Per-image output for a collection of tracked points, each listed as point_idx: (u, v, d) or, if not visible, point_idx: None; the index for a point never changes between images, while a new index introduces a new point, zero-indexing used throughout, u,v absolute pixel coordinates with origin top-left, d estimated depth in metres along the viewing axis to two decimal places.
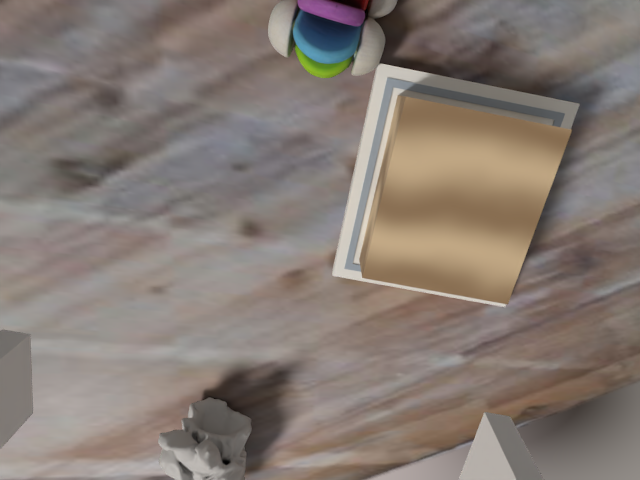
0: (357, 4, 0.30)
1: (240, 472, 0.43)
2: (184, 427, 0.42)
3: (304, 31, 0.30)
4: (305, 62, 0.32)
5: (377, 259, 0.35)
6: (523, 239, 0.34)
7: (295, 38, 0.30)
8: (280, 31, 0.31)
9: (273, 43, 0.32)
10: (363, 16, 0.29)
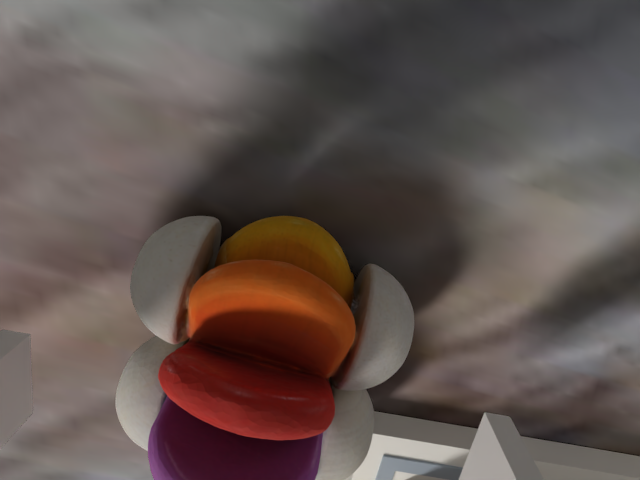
0: None
1: None
2: None
3: None
4: None
5: None
6: None
7: None
8: (134, 436, 0.14)
9: None
10: (314, 476, 0.11)
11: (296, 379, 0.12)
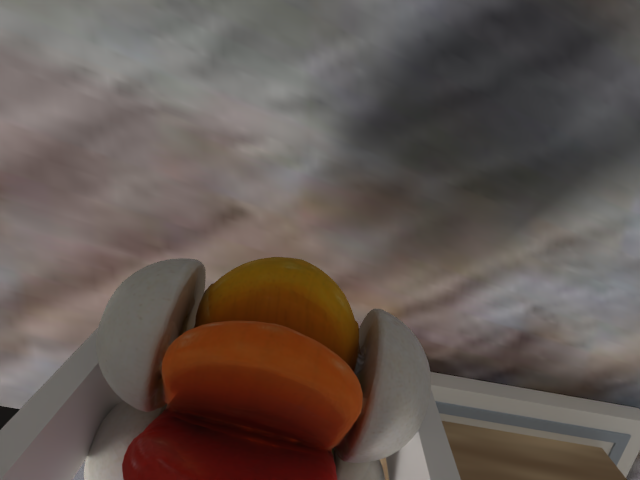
0: None
1: None
2: None
3: None
4: None
5: None
6: None
7: None
8: None
9: None
10: None
11: (292, 460, 0.10)
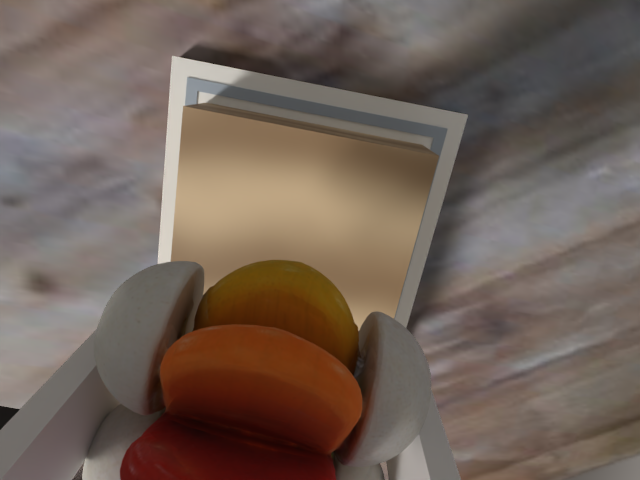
0: None
1: None
2: None
3: None
4: None
5: None
6: (384, 311, 0.23)
7: None
8: None
9: None
10: None
11: (291, 465, 0.10)
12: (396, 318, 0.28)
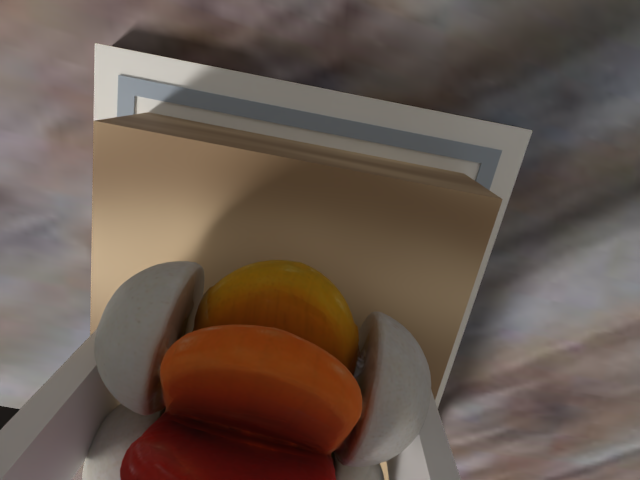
0: None
1: None
2: None
3: None
4: None
5: None
6: None
7: None
8: None
9: None
10: None
11: (291, 465, 0.10)
12: None
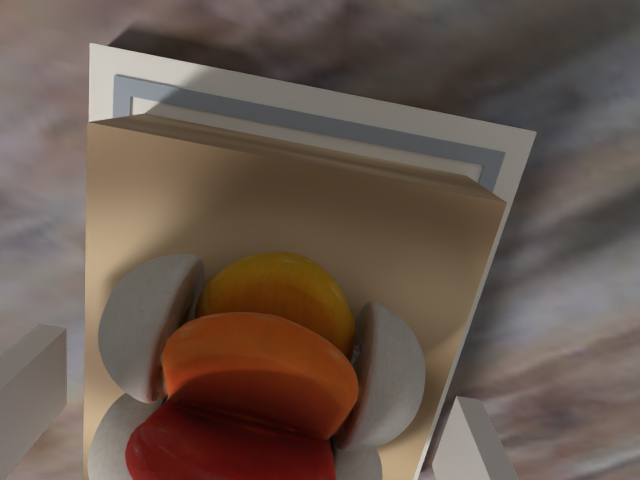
0: None
1: None
2: None
3: None
4: None
5: None
6: (411, 429, 0.15)
7: None
8: None
9: None
10: None
11: (290, 448, 0.10)
12: None
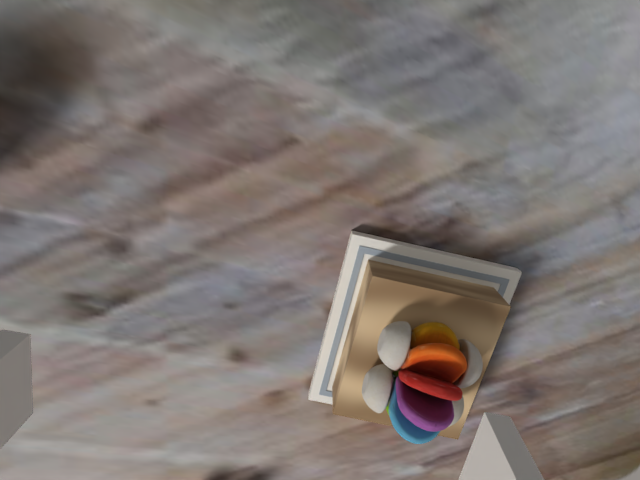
0: None
1: None
2: None
3: (400, 417, 0.35)
4: None
5: (346, 399, 0.40)
6: (471, 388, 0.40)
7: (392, 421, 0.35)
8: (376, 405, 0.36)
9: None
10: (453, 416, 0.34)
11: (446, 382, 0.34)
12: None
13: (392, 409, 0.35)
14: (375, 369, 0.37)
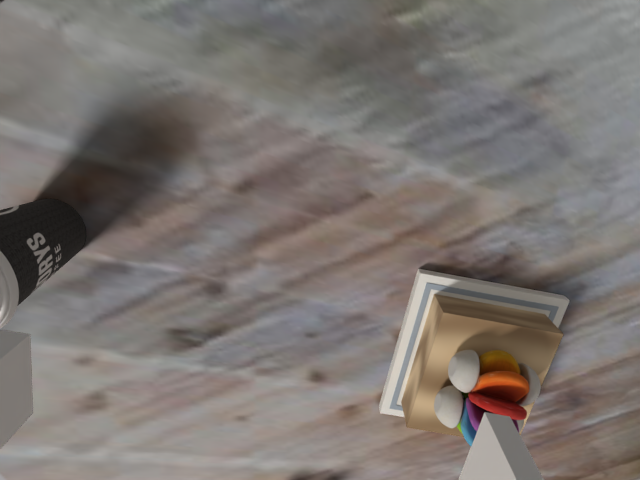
0: None
1: None
2: None
3: (472, 432, 0.41)
4: None
5: (419, 415, 0.46)
6: None
7: (464, 436, 0.41)
8: (450, 422, 0.42)
9: (440, 421, 0.43)
10: (518, 431, 0.40)
11: (512, 403, 0.40)
12: None
13: (464, 426, 0.41)
14: (446, 391, 0.43)
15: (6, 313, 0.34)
